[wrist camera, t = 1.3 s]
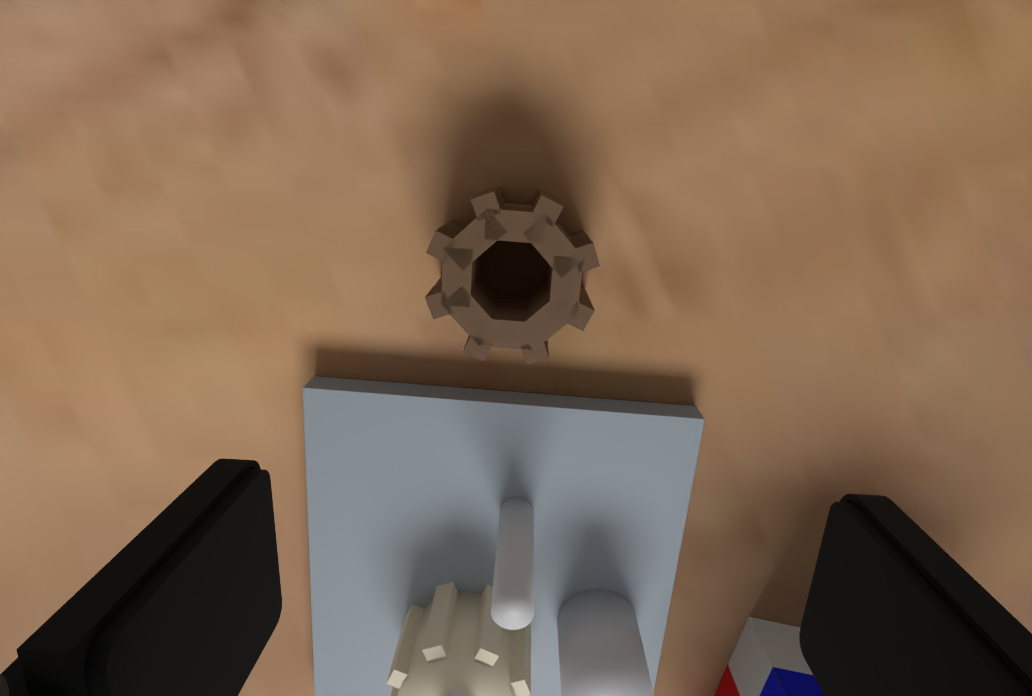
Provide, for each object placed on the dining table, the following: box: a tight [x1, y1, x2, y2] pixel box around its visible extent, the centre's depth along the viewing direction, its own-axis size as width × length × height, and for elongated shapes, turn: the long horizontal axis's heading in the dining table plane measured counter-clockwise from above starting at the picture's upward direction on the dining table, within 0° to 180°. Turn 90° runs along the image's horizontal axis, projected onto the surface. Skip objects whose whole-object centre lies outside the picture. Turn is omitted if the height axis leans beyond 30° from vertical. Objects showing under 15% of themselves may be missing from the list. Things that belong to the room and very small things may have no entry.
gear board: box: [303, 376, 705, 696], centre depth 26 cm, size 19×18×8 cm
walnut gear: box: [425, 187, 600, 365], centre depth 24 cm, size 6×6×4 cm
